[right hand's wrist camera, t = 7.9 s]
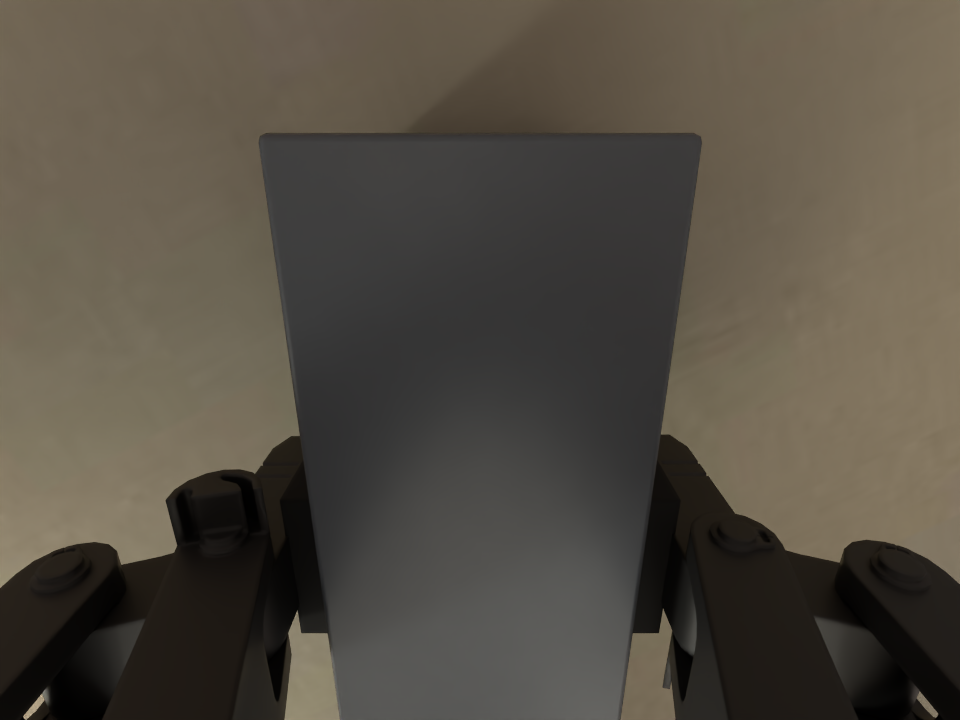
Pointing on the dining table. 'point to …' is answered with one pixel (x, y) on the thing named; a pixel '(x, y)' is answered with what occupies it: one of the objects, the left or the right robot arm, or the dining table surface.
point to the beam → (480, 404)
